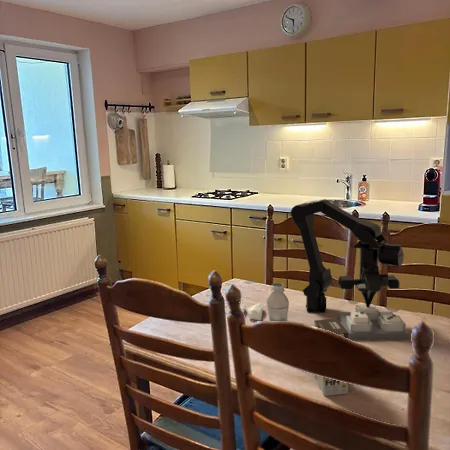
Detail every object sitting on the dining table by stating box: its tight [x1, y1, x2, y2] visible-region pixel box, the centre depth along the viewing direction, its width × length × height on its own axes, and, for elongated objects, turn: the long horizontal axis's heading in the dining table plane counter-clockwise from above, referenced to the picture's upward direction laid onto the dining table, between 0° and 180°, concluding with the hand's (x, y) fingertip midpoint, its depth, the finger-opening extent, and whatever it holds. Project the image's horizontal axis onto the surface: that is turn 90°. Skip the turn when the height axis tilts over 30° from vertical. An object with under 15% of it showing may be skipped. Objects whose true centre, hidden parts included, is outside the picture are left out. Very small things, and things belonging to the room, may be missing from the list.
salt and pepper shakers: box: [240, 301, 264, 321], centre depth 157 cm, size 12×4×11 cm
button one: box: [359, 303, 376, 312], centre depth 146 cm, size 4×4×3 cm
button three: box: [382, 314, 401, 323], centre depth 137 cm, size 4×4×3 cm
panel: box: [338, 304, 410, 340], centre depth 142 cm, size 18×17×4 cm
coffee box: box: [313, 318, 349, 397], centre depth 109 cm, size 9×6×16 cm
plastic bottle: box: [266, 282, 290, 322], centre depth 129 cm, size 6×7×20 cm
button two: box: [350, 311, 368, 323], centre depth 138 cm, size 4×4×3 cm
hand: (367, 306), depth 146 cm, fingers closed, pressing on button one
